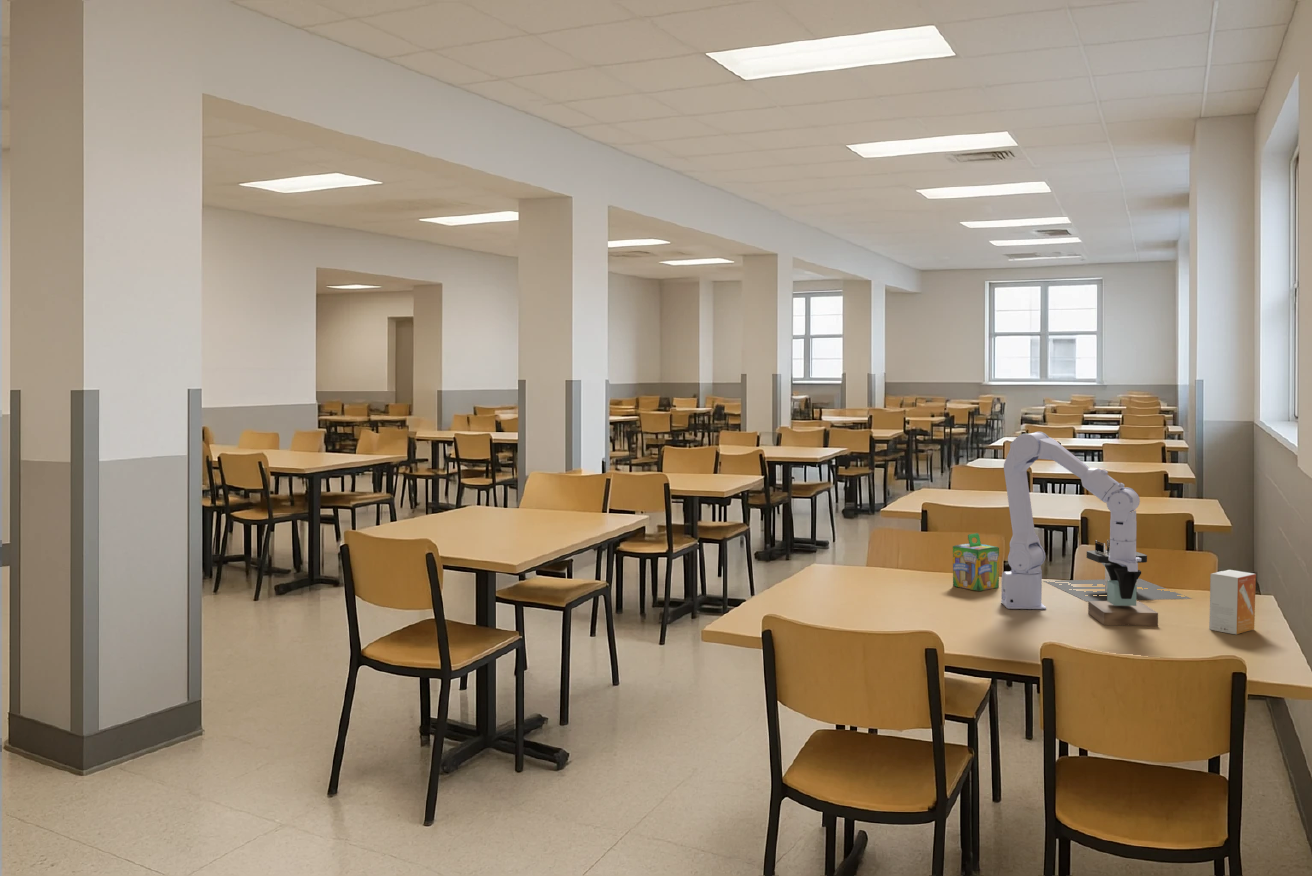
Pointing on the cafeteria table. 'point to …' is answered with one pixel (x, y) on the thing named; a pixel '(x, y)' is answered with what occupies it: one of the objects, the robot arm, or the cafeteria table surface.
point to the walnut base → (1123, 614)
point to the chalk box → (975, 565)
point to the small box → (1232, 601)
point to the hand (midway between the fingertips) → (1122, 596)
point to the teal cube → (1115, 596)
